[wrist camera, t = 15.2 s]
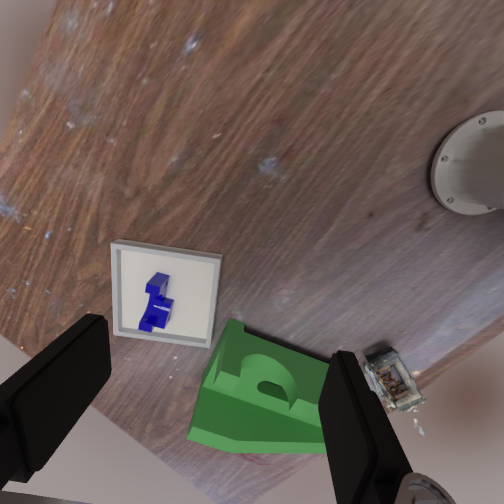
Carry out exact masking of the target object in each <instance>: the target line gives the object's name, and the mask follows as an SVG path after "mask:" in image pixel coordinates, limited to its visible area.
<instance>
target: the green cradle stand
mask: <svg viewBox="0 0 504 504" xmlns="http://www.w3.org/2000/svg"><path fill="white" fill-rule="evenodd" d="M328 367H329V364H327V363H324V362H322V361H319V360H317V359H314V358H311V357H309V356H306V355H303V354H301V353H298V352H296V351H293V350H290V349H288V348H285V347H282V346H280V345H277V344H275V343H272V342H269V341H267V340H264V339H261V338H259V337H256V336H253V335H251V334H248V333H246V332H244V323H242V322H239V321H237V320H234V319H232V318H230V319H229V321H228V323H227V325H226V327H225V329H224V332H223V334H222V336H221V338H220V340H219V342H218V344H217V346H216V348H215V350H214V352H213V355H212V357H211V359H210V361H209V363H208V365H207V367H206V369H205V371H204V373H203V377H202V380H201V384H200V388H199V392H198V396H197V400H196V403H195V407H194V411H193V415H192V419H191V423H190V427H189V430H188V434H187V438H186V439H189V440H192V441H195V442H198V443H201V444H204V445H207V446H211V447H214V448H217V449H220V450H223V451H226V452H229V453H327V452H326V447H325V442H324V437H323V432H322V427H321V422H320V417H319V412H318V401H319V398H320V394H321V391H322V387H323V384H324V381H325V377H326V374H327V371H328ZM266 381H269V382H272V383H274V384H277V385H280V386H282V387H280V386H277V385H274V384H272V383H269V382H266Z"/></svg>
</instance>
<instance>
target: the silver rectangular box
mask: <svg viewBox="0 0 504 504" xmlns="http://www.w3.org/2000/svg"><path fill="white" fill-rule="evenodd" d="M398 354H399V353H398V352H397V351H396V350H394V349H393V348H392V347H389V348H386V349H383V350H381V351H378V352H375V353H373V354H370V355H368V356H367V355H366V354H365V355H366V356H365V357H366V359H367V361H368V362H369V363H368V364H369V366H370V367H372V369H373V370H374V371H375V372H374V371H373V372H374V373H375V374H376V375H377V376H378V377H377V376H376V377H377V378H379V379H380V380H379V383H380V384H381V385H382V386H381V385H380V384H379V383H377V380H375V377H374V374H373V372H371V371H369V368H367V365H368V364H367V365H365V367H366V371H367V372H368V373H369V374H370V376H371V378H372V379H373V381H374V385H375V389H376V390H377V392H378V393H379V392H381V394H380V393H379V394H380V395H379V396H381V397H383V392H382V390H381V387H384V388H385V389H384V388H382V389H384V390H385V393H386V392H387V393H388V396H389V397H387V395H386V397H384V399H386V398H387V399H386V401H387V403H388V404H389V405H387V406H388V407H390V405H391V407H395V408H398V410H399V411H398V412H399V413H400V412H403V411H404V410H408V409H412V408H413V407H415V408H417V407H416V406H417V405H418V404H420V403H424V402H425V401H426V399H424V398H423V397H422V395H421V393H420V392H419V390H418V388H417V386H416V385H415V383H414V381H413V380H412V378H411V376H410V375H409V373H408V372H407V370H406V368H405V366H404V365H403V363H402V362H401V360H400V359H399V356H398ZM384 355H385V356H384ZM378 357H379V358H378ZM386 357H387V358H386ZM385 358H386V359H387V360H386V359H385ZM374 359H375V360H374ZM372 360H373V361H372ZM375 361H376V362H377V363H376V364H374V363H375ZM378 361H380V362H378ZM382 361H384V362H385V363H384V362H382ZM383 364H384V365H383ZM375 365H376V366H375ZM382 365H383V368H381V369H380V370H379V367H380V366H382ZM391 365H393V366H394V365H395V366H394V367H395V368H397V369H396V370H398V371H399V372H398V373H400V374H401V375H400V374H399V375H400V376H401V377H402V381H403V382H402V383H400V384H399V379H398V382H395V381H396V380H394V379H392V377H391V375H392V374H391V373H390V369H389V370H387V373H388V374H386V375H385V376H382V374H381V375H380V372H381V371H384V370H386V369H387V368H388V367H390V368H391V367H392V366H391ZM378 373H379V374H378ZM384 373H386V372H384ZM382 377H385V378H384V379H382ZM386 377H387V378H388V379H386ZM413 379H414V378H413ZM387 380H388V382H389V381H394V382H395V385H394V384H393V387H391V388H388V387H389V386H388V385H391V384H390V383H391V382H390V383H389V384H388V383H387V385H386V382H384V381H387ZM414 380H415V379H414ZM416 384H417V383H416ZM380 386H381V387H380ZM378 389H379V390H378ZM399 389H401V390H400V391H399ZM405 390H407V391H409V392H410V393H409V395H406V396H404V397H401V398H399V399H396V398H395V397H394V396H395V395H397V394H399V393H403V391H405ZM390 398H391V399H392V401H393V402H394V403H395V405H396V406H395V405H394V403H393V402H392V401H391V400H390ZM387 406H386V407H387ZM388 407H387V409H388V410H389V411H390V410H392V409H389V408H388ZM408 411H409V410H408ZM391 412H392V411H391ZM414 412H415V410H414ZM417 412H418V411H417ZM414 420H415V421H414V423H415V422H417V420H416V419H414ZM415 428H416V427H415ZM421 429H422V428H420V430H419V432H420V433H421V434H422V435H424V434H423V433H422V432H423V431H422V430H421Z"/></svg>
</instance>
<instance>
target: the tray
mask: <svg viewBox="0 0 504 504" xmlns="http://www.w3.org/2000/svg"><path fill="white" fill-rule="evenodd" d="M222 257H223V255H222V254H216V253H209V252H203V251H196V250H189V249H183V248H176V247H169V246H163V245H156V244H150V243H143V242H136V241H130V240H123V239H117V240H116V241H114V242H112V243H111V267H112V300H113V332H114V335H118V336H125V337H132V338H140V339H147V340H154V341H161V342H168V343H175V344H183V345H190V346H197V347H204V348H210V347H211V343H212V338H213V330H214V322H215V314H216V306H217V297H218V289H219V281H220V273H221V265H222ZM157 272H159V273H163V274H166V275H170V277H169V282H168V286H167V291H166V296H165V297H166V298H170V299H173V300H174V303H173V308H172V312H171V316H170V320H169V322H168V324H167V326H166V327H165V329H161V328H158V327H155V328H154V329H153V331H152V332H151V333H150V332H146V331H142V330H138V327H139V321H140V320H141V318H142V316H143V315H144V312H145V310H146V308H147V305H148V301H149V296H150V294H149V293H145V289H146V283H147V282H148V281H149V280H150V279H151V278H152V277H153V276H154V275H155V274H156V273H157Z"/></svg>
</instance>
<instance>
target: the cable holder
mask: <svg viewBox="0 0 504 504" xmlns="http://www.w3.org/2000/svg"><path fill="white" fill-rule="evenodd" d="M169 277H170V275H166V274H163V273H159V272H157V273H156V274H155V275H154V276H153V277H152V278H151V279H150V280H149V281H148V282H147V283H146V289H145V293H149V294H150V296H149V301H148V305H147V308H146V310H145V312H144V315H143V316H142V318H141V320H140V321H139V327H138V330H142V331H146V332H150V333H151V332H152V331H153V329H154V328H155V327H158V328H161V329H165V327H166V326H167V324H168V322H169V320H170V316H171V312H172V308H173V303H174V300H173V299H170V298H166V297H165V296H166V291H167V286H168V282H169Z"/></svg>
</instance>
